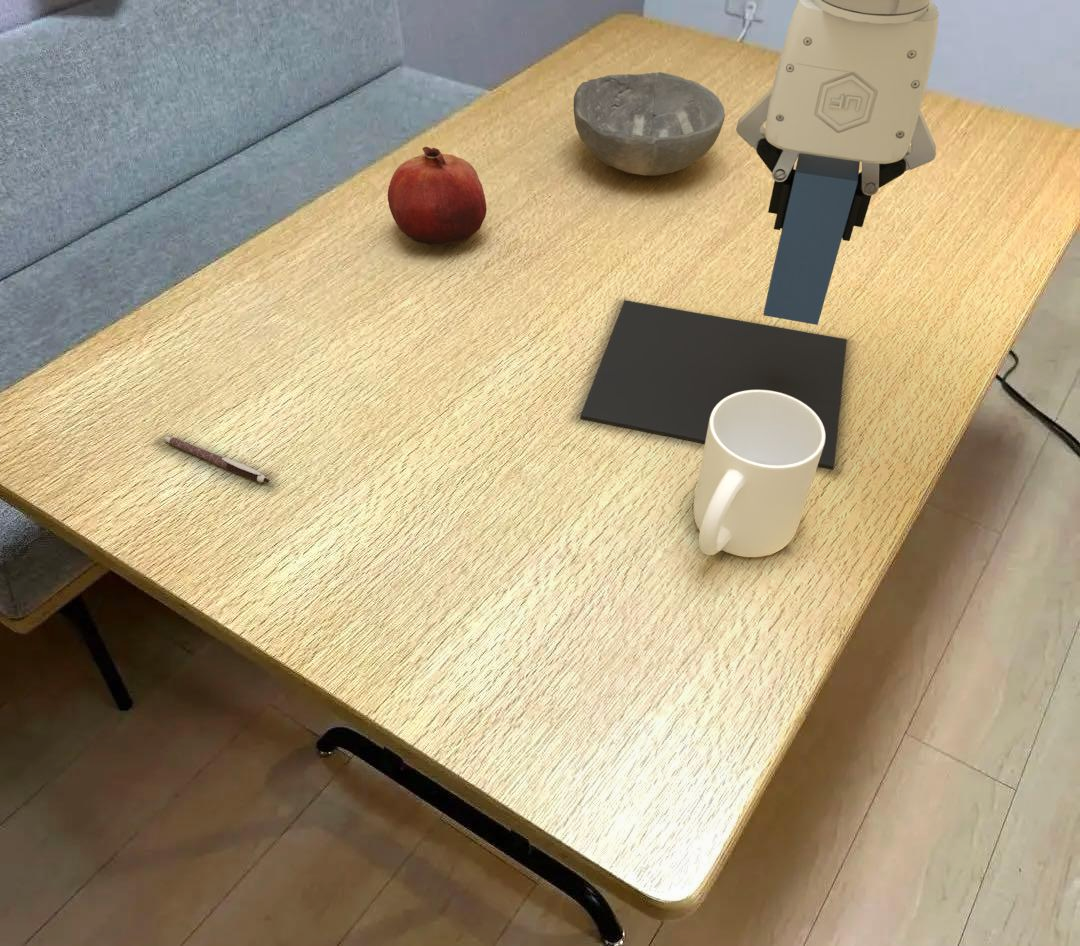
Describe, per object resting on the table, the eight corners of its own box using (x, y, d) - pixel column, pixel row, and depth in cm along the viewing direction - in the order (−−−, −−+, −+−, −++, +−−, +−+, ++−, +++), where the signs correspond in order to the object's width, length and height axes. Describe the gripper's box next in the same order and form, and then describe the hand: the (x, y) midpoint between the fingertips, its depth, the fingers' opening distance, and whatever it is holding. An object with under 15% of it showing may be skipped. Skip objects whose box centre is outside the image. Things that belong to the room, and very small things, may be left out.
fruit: (374, 249, 102) (363, 162, 95) (419, 205, 108) (412, 121, 101) (462, 272, 99) (457, 185, 92) (503, 226, 105) (502, 141, 98)
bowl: (725, 202, 110) (736, 136, 104) (573, 200, 110) (576, 134, 104) (706, 129, 122) (715, 67, 116) (570, 128, 122) (572, 66, 116)
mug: (742, 611, 69) (767, 518, 62) (646, 557, 73) (660, 463, 65) (814, 513, 76) (845, 419, 69) (723, 469, 79) (744, 374, 72)
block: (821, 294, 81) (860, 152, 72) (817, 325, 78) (857, 181, 69) (769, 285, 82) (801, 144, 73) (762, 315, 79) (795, 172, 70)
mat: (845, 342, 92) (846, 338, 91) (833, 469, 80) (834, 466, 79) (624, 303, 96) (624, 299, 95) (580, 418, 84) (580, 415, 83)
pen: (272, 481, 78) (270, 473, 77) (266, 488, 77) (264, 479, 77) (167, 437, 81) (164, 428, 81) (161, 443, 81) (157, 434, 80)
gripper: (736, -16, 61) (698, 234, 74) (1014, 15, 57) (922, 270, 71) (751, -53, 66) (713, 187, 79) (1007, -26, 62) (923, 219, 76)
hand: (813, 224), depth 74 cm, fingers closed on block, 4 cm apart
